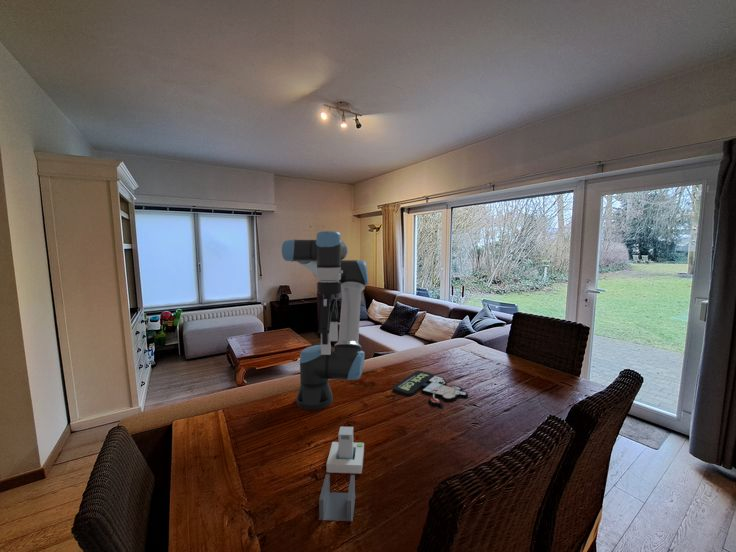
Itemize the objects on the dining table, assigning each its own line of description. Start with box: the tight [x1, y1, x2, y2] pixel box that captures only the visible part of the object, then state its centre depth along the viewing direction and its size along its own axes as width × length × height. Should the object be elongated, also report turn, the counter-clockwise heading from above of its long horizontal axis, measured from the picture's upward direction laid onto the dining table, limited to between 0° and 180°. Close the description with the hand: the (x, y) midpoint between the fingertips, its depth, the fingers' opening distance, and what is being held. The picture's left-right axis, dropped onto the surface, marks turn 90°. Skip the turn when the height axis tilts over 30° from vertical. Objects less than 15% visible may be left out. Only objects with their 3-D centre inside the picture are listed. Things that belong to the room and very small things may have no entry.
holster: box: [318, 473, 357, 522], centre depth 73 cm, size 8×8×6 cm
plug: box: [337, 426, 355, 460], centre depth 89 cm, size 4×4×10 cm
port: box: [326, 441, 365, 474], centre depth 89 cm, size 10×10×3 cm
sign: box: [392, 370, 469, 409], centre depth 136 cm, size 27×2×30 cm
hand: (329, 347), depth 95 cm, fingers open, 13 cm apart
